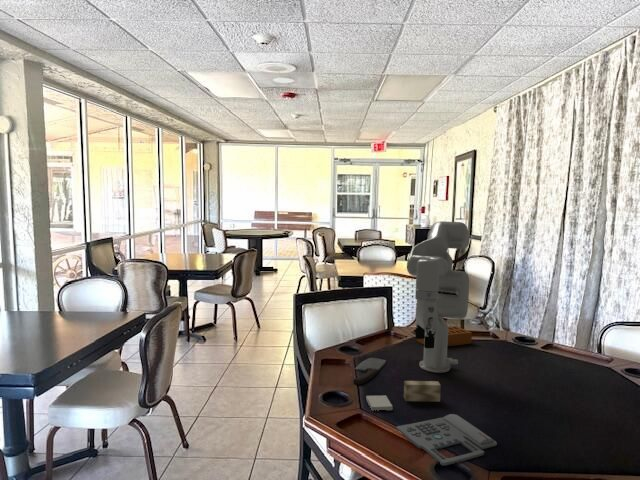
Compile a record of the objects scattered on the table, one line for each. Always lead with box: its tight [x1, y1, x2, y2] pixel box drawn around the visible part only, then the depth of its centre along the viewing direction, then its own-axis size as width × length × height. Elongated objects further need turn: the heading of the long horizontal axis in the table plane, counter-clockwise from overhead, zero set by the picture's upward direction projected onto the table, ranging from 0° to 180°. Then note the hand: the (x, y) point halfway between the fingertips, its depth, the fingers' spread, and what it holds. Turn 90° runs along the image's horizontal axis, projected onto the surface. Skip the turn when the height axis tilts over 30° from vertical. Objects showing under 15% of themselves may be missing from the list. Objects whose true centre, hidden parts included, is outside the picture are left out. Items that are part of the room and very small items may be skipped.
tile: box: [365, 395, 394, 412], centre depth 141 cm, size 2×8×7 cm
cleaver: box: [353, 357, 387, 386], centre depth 170 cm, size 30×10×2 cm, turn 156°
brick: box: [415, 325, 473, 347], centre depth 211 cm, size 25×12×6 cm, turn 111°
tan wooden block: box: [403, 380, 442, 402], centre depth 146 cm, size 12×3×6 cm, turn 92°
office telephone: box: [395, 413, 498, 466], centre depth 121 cm, size 23×3×20 cm
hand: (424, 343), depth 145 cm, fingers open, 9 cm apart
